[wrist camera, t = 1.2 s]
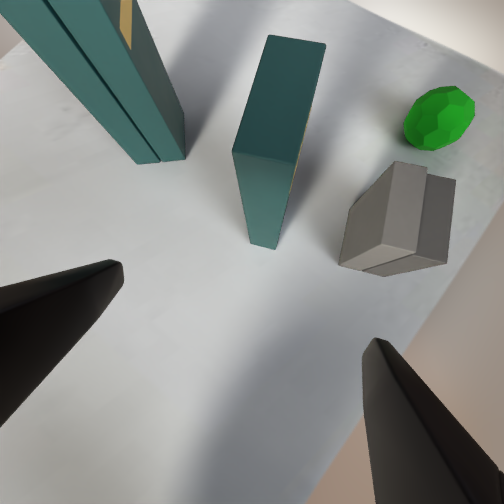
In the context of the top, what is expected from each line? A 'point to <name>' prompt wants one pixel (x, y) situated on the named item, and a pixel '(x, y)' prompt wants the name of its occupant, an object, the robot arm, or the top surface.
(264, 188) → the teal book
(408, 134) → the polyhedron
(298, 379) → the top surface
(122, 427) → the top surface
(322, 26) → the top surface
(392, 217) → the grey books
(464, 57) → the top surface
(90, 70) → the teal books
